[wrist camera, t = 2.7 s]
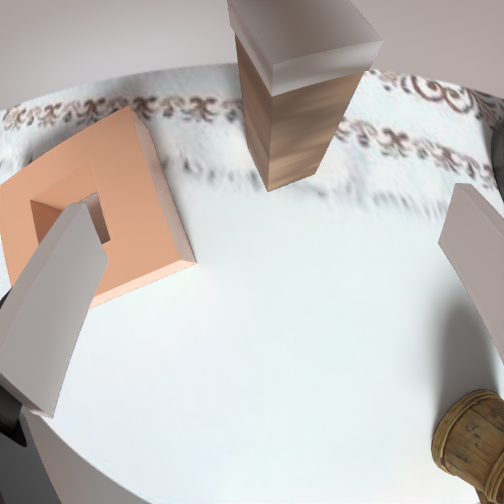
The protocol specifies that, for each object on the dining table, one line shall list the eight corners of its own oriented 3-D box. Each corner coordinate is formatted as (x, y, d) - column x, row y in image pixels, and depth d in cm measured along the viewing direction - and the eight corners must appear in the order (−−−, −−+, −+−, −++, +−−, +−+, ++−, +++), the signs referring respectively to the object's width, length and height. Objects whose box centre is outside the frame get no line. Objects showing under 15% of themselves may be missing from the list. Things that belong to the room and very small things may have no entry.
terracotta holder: (150, 132, 25) (128, 104, 20) (196, 263, 24) (180, 259, 19) (27, 201, 25) (-6, 189, 20) (58, 322, 24) (23, 328, 19)
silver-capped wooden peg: (294, 130, 25) (325, -26, 9) (316, 174, 25) (383, 40, 9) (246, 147, 25) (226, -7, 9) (267, 193, 25) (273, 64, 9)
